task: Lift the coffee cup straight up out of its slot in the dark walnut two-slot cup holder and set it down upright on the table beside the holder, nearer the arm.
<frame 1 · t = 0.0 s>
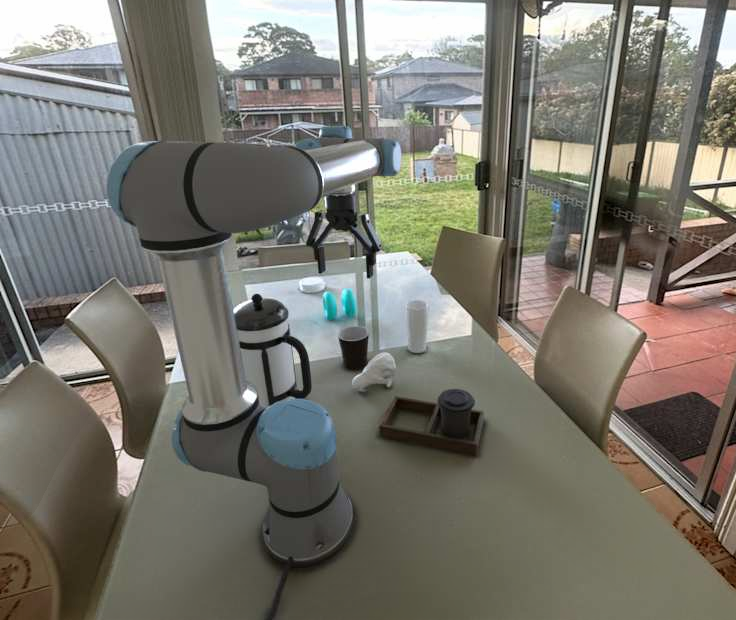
hand: (345, 274, 115), 28 cm above the table, tool pointing down, fingers open, 13 cm apart
cup holder: (432, 429, 100), on the table
drinking glass: (417, 350, 133), on the table
coffee cup: (455, 434, 99), resting in cup holder
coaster: (312, 289, 179), on the table
white lumpy figurine: (373, 386, 116), on the table
coffee press: (277, 406, 109), on the table
cyan wheel pair: (340, 317, 154), on the table
coffee mug: (357, 361, 127), on the table
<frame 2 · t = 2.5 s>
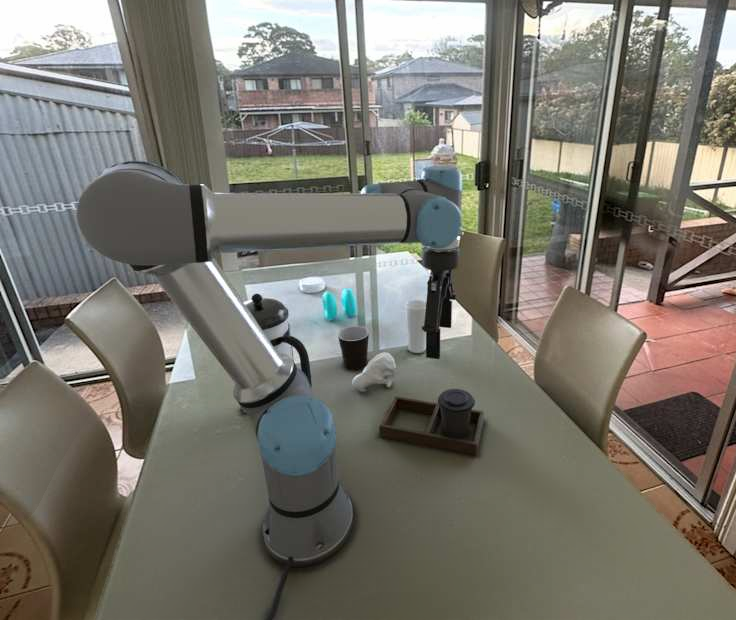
hand: (439, 341, 95), 22 cm above the table, tool pointing down, fingers open, 13 cm apart
nothing on the table moved.
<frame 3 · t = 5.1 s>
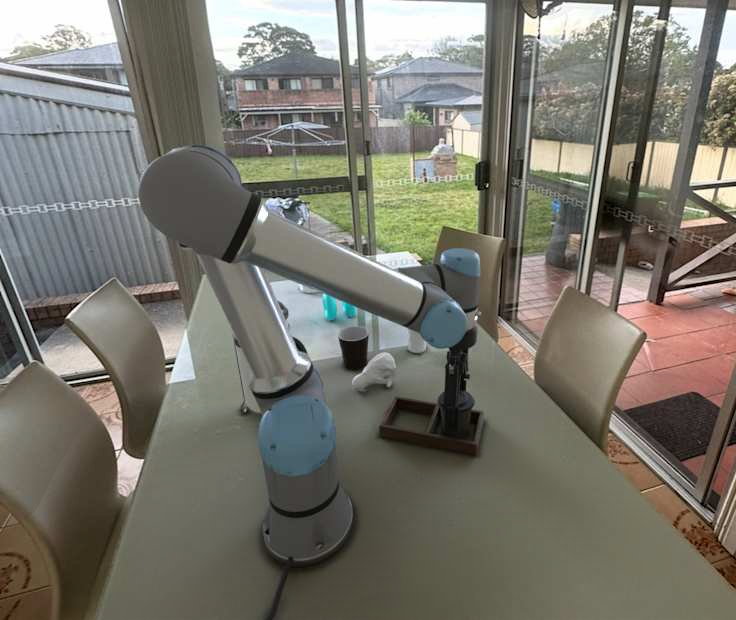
hand: (455, 416, 97), 5 cm above the table, tool pointing down, fingers closed on coffee cup, 8 cm apart
coffee cup: (455, 434, 99), resting in cup holder, touching gripper
everything else where it was.
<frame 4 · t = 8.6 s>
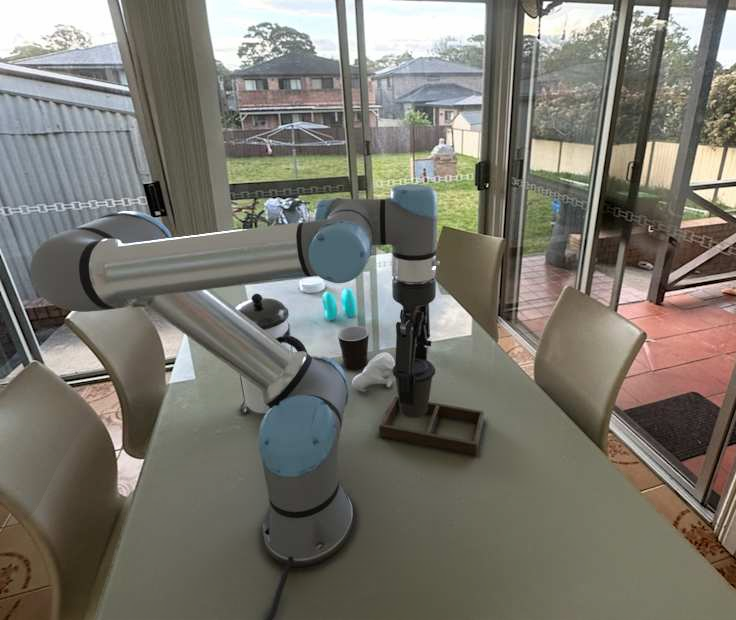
hand: (413, 388, 84), 19 cm above the table, tool pointing down, fingers closed on coffee cup, 8 cm apart
coffee cup: (413, 409, 85), point 14 cm above the table, touching gripper
everything else where it was.
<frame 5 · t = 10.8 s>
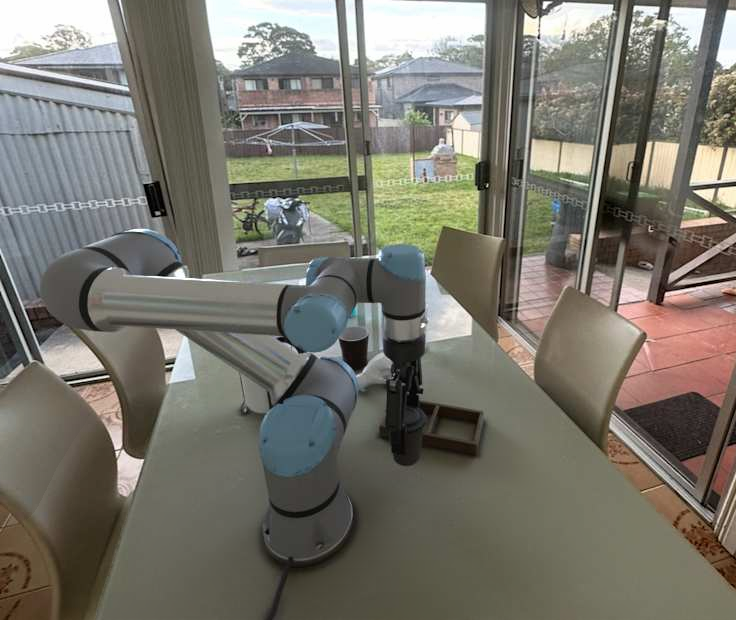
hand: (406, 436, 85), 9 cm above the table, tool pointing down, fingers closed on coffee cup, 8 cm apart
coffee cup: (406, 456, 87), point 4 cm above the table, touching gripper
everything else where it was.
when the fingers open (5 cm above the table, at t = 12.4 s): coffee cup stays where it is, on the table.
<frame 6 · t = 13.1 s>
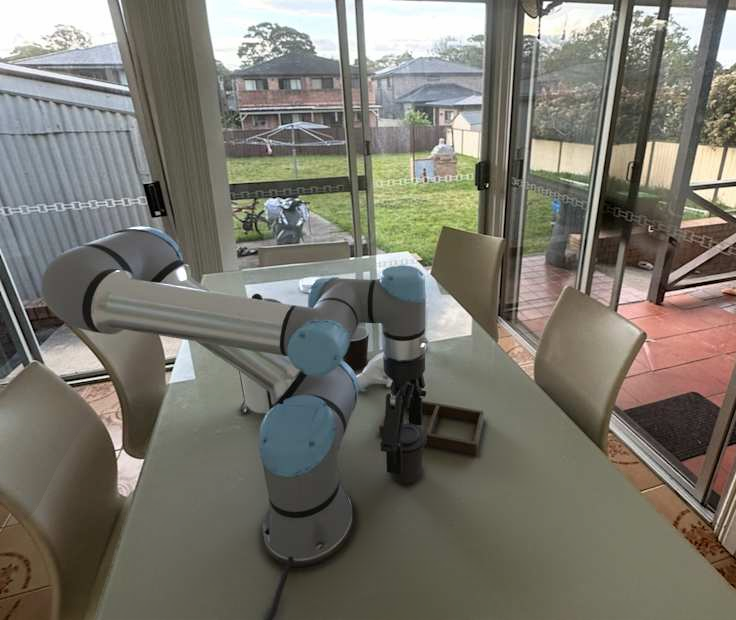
hand: (405, 446, 86), 7 cm above the table, tool pointing down, fingers open, 13 cm apart
coffee cup: (406, 473, 89), on the table
everything else where it was.
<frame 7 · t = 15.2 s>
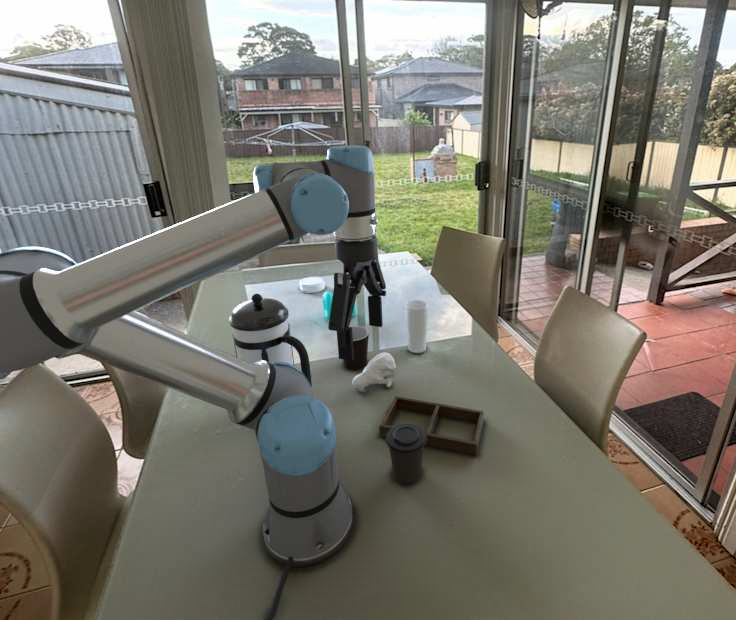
hand: (362, 341, 86), 26 cm above the table, tool pointing down, fingers open, 13 cm apart
nothing on the table moved.
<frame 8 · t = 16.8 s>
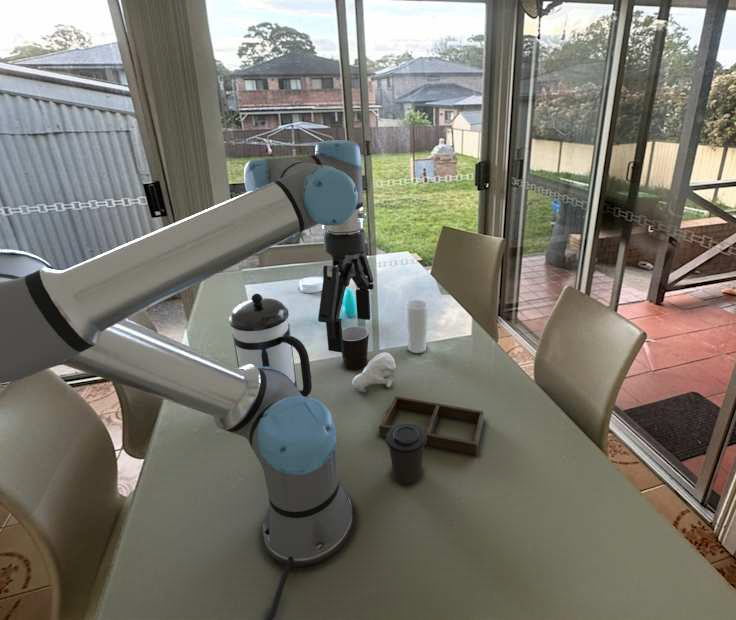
hand: (351, 333, 87), 27 cm above the table, tool pointing down, fingers open, 13 cm apart
nothing on the table moved.
at the end: coffee cup inside the target area (0.1 cm from its centre), on the table; coffee cup tilted 0°; the gripper is holding nothing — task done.
